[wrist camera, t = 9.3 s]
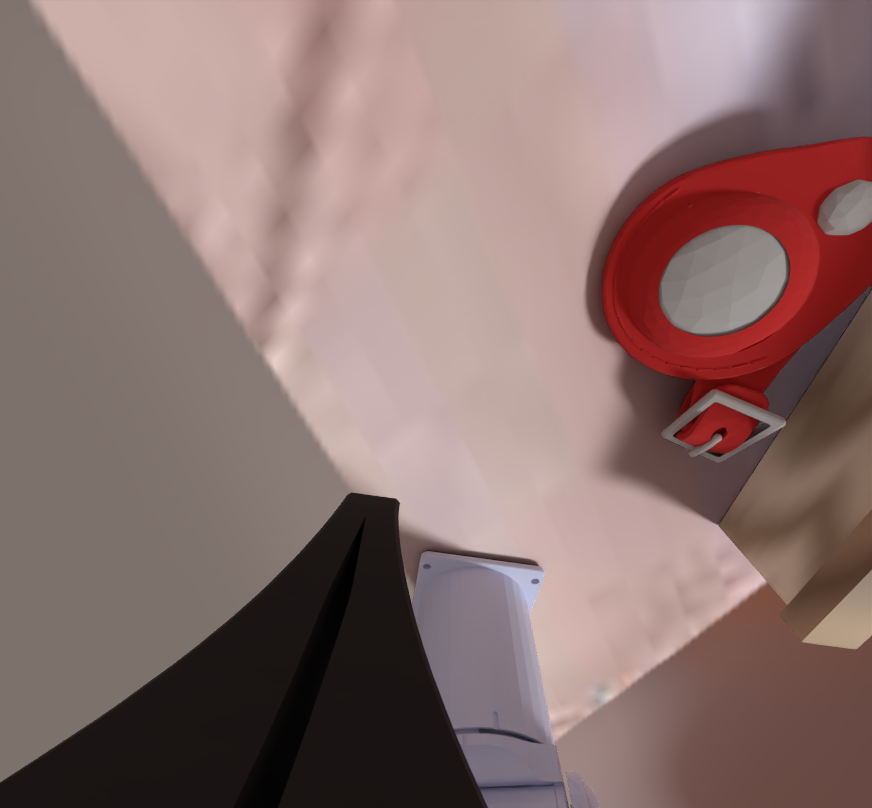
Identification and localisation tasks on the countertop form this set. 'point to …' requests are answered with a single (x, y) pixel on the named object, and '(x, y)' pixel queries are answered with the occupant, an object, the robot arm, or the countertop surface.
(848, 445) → the wall board
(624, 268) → the tracker holder
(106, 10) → the countertop surface
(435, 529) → the countertop surface
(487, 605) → the robot arm
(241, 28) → the countertop surface
